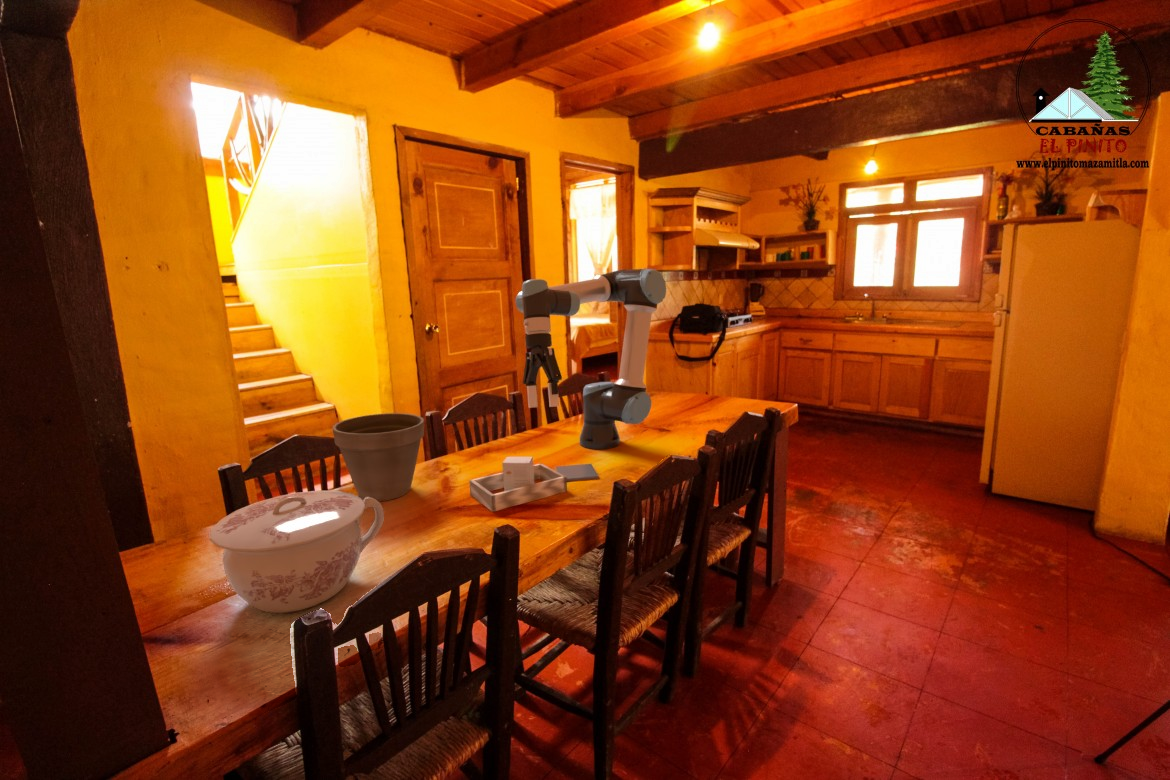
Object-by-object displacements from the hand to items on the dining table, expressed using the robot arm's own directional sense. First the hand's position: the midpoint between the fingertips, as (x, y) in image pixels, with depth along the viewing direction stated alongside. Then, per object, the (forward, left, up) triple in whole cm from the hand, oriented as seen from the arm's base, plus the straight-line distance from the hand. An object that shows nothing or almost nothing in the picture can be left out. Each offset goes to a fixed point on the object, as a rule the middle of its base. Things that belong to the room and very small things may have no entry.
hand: (543, 407), depth 161 cm
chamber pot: (+55, +44, -25) cm, 75 cm away
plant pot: (+47, -9, -25) cm, 54 cm away
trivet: (-11, -11, -25) cm, 29 cm away
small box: (+8, +2, -25) cm, 27 cm away
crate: (+8, +2, -25) cm, 26 cm away
